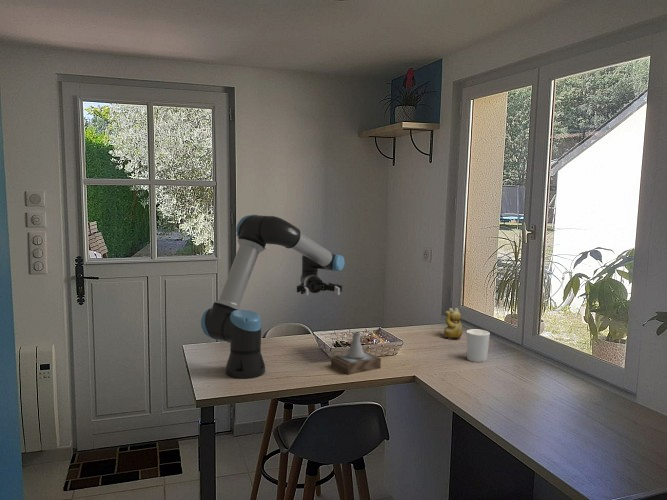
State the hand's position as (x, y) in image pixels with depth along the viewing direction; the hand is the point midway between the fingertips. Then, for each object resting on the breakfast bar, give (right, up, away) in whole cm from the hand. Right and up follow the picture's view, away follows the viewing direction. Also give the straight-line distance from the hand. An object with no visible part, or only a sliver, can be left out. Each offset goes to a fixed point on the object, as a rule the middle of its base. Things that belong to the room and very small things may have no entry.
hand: (323, 292), depth 230 cm
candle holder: (+66, -29, +4) cm, 72 cm away
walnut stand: (+13, -30, -11) cm, 34 cm away
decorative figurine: (+64, -26, +38) cm, 79 cm away
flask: (+13, -25, -11) cm, 31 cm away
